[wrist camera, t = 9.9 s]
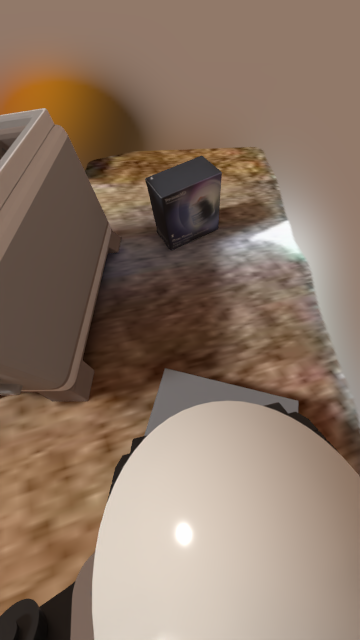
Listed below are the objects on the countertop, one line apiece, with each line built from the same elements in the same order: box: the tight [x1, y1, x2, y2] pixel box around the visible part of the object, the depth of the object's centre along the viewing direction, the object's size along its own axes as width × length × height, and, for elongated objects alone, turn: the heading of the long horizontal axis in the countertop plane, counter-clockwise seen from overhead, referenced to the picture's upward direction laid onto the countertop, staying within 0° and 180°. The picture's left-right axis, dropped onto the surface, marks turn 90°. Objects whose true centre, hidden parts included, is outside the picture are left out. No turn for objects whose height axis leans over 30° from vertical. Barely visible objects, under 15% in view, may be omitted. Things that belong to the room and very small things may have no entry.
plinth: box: [144, 368, 298, 436], centre depth 22 cm, size 14×14×5 cm
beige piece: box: [92, 401, 360, 640], centre depth 8 cm, size 5×5×10 cm
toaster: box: [0, 108, 121, 401], centre depth 28 cm, size 19×34×20 cm, turn 179°
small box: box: [145, 156, 222, 250], centre depth 38 cm, size 11×6×10 cm, turn 118°
